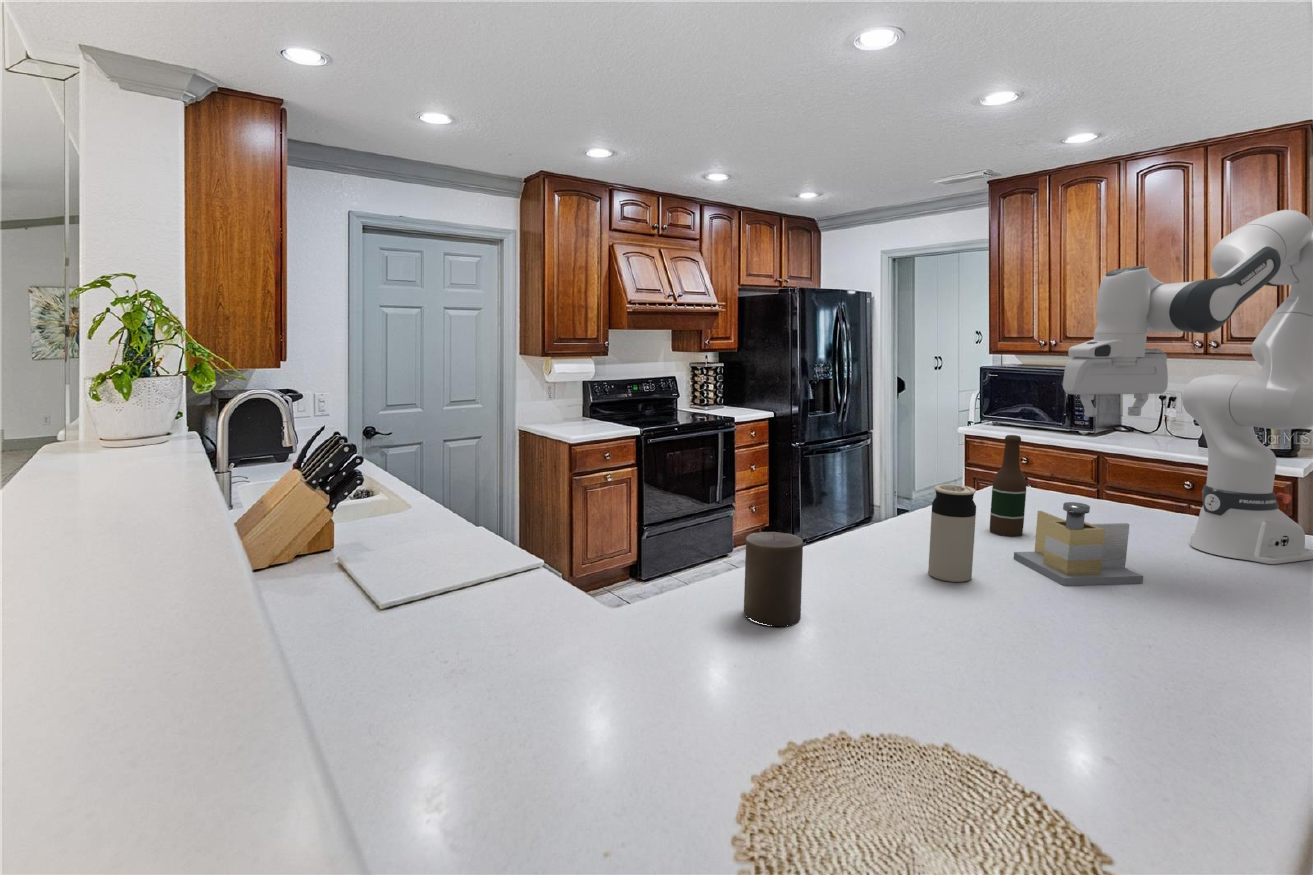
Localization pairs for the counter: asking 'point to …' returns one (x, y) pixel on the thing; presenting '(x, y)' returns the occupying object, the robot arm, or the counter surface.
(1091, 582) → the mounting board
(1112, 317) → the robot arm
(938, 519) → the travel mug
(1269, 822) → the counter surface
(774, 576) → the pillar candle
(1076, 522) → the hinge pin
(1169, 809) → the counter surface
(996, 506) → the beer bottle
